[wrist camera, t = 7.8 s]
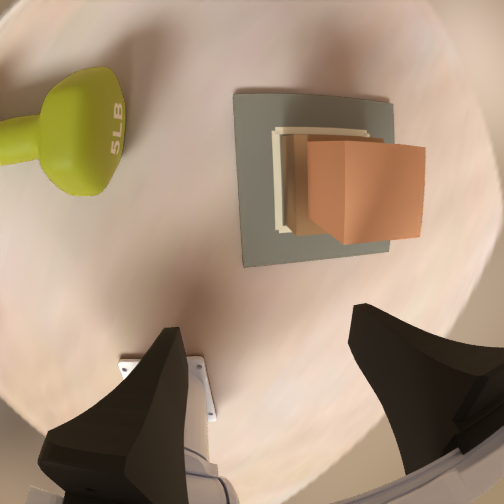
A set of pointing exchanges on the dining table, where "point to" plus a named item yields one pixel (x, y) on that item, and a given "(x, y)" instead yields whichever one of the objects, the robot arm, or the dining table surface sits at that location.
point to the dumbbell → (72, 132)
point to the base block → (303, 180)
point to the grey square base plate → (271, 168)
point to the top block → (366, 190)
